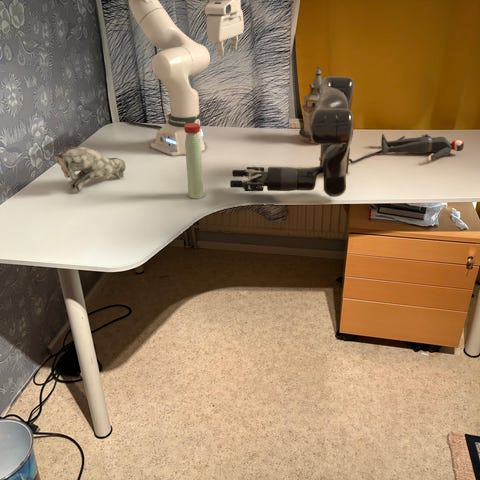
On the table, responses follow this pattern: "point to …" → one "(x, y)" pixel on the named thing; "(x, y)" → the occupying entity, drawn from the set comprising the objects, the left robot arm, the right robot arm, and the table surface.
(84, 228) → the table surface
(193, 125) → the cap
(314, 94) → the miniature building
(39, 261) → the table surface
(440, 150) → the toy
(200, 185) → the bottle
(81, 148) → the figurine
